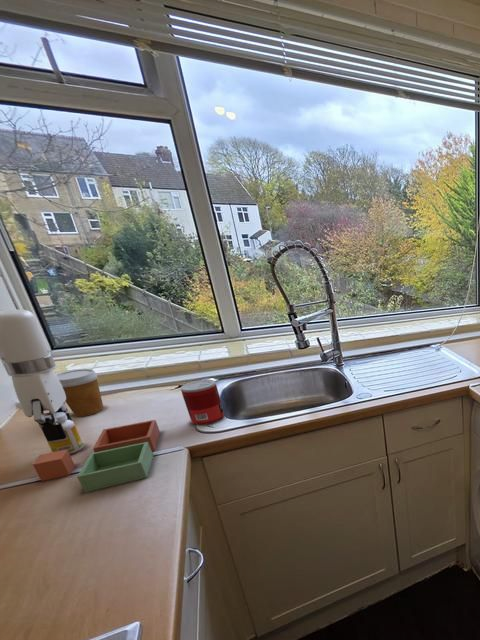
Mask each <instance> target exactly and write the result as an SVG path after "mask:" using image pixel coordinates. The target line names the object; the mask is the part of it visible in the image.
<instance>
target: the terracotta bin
mask: <svg viewBox="0 0 480 640" xmlns="http://www.w3.org/2000/svg"><path fill="white" fill-rule="evenodd" d="M160 436H161V430H160V428H159V425H158V423H157V420H156V419H152V420H146V421H141V422H135V423H129V424H125V425H120V426H114V427H109V428H103V430H102V431H101V433H100V435H99V436H98V438H97V440H96V442H95V444H94V445H93V446H92V447H93V448H92V449H93V451H94V452H93V453H96V452H100V451H105V450H110V449H115V448H120V447H125V446H129V445H134V444H139V443H144V442H148V443H149V446H150V448H151V451H152V452H155V451H156V448H157V445H158V441H159V439H160Z"/></svg>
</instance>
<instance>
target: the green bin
mask: <svg viewBox="0 0 480 640" xmlns="http://www.w3.org/2000/svg"><path fill="white" fill-rule="evenodd" d="M153 458H154V454H153V451H151V448H150V446H149V443H148V442H144V443H139V444H134V445H129V446H125V447H120V448H115V449H110V450H105V451H100V452H96V453H95V452H90V453H89V455H88V456H87V459H86V460H85V461H84V464H83V465H82V468H81V469H80V471H79V473H78V474H77V476H76V477H77V480H78V482H79V484H80V486H81V488H82V490H83V492H84V493H88V492H92V491H97V490H102V489H105V488H109V487H113V486H114V487H115V486H117V485H122V484H125V483H130V482H134V481H138V480H142V479H146V478H148V475H149V471H150V468H151V465H152V462H153Z"/></svg>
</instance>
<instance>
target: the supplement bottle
mask: <svg viewBox="0 0 480 640" xmlns="http://www.w3.org/2000/svg"><path fill="white" fill-rule="evenodd" d="M45 417H46V418H50V419H51V415H48V416H45ZM56 417H57V420H58V423H61V425H62V427H63V429H64V432H65V434H66V436H67V437H66V438H65V439H61V440H55V441H47V439H46V437H45V435H44V434H43V436H44V437H45V440H46V442H47V444H48V446H49V449H50V450H51V453H52V452H57V451H62V450H68V452H69V454H70V455H71V454H74V453H77V452H79V451H80V450H82V449H83V448H84V442H83V440H82V438H81V436H80V433H79V431H78V429H77V426H76V424H75V422H74V421H73V420H72V421H71V420H67V416H66V414H65V413H64V412H58V413H56Z"/></svg>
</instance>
